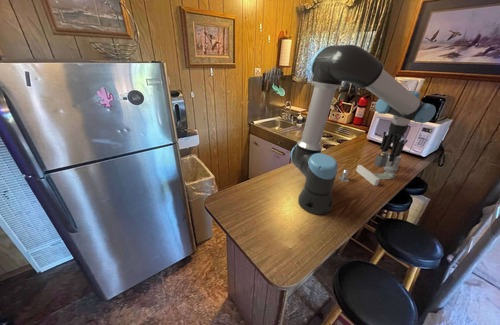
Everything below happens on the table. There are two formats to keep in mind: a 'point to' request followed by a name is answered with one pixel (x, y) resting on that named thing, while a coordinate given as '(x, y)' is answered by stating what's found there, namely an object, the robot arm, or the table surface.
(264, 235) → the table surface
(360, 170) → the door edge
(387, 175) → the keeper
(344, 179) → the grey knobbed fixture
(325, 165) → the robot arm
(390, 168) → the mug
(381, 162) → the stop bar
